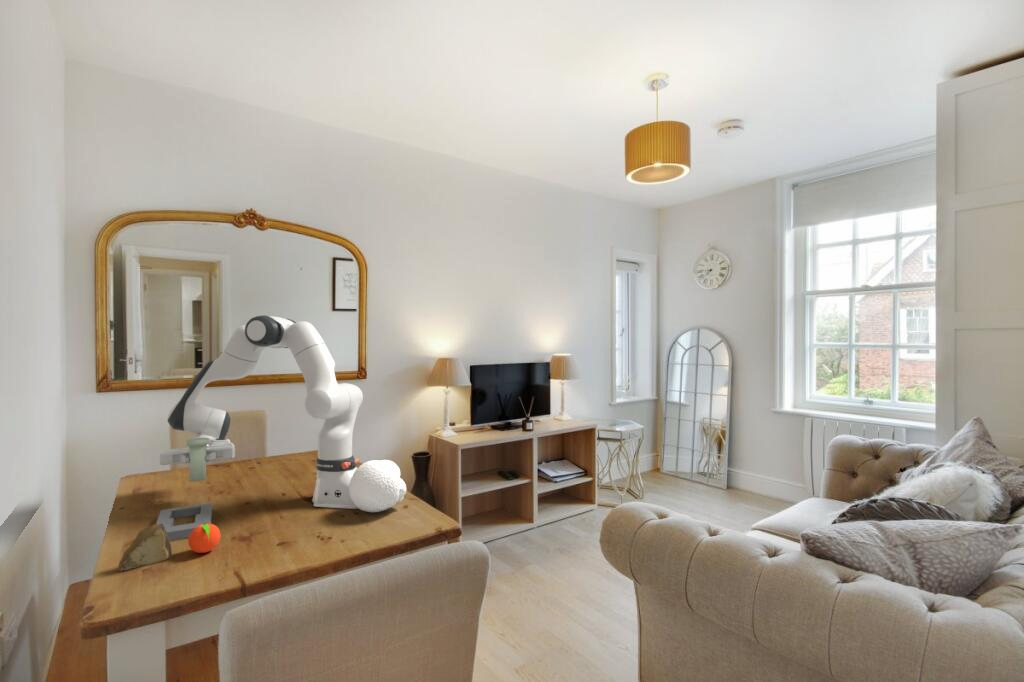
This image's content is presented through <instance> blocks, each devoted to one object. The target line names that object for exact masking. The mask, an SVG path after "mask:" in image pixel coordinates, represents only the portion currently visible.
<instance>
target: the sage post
mask: <svg viewBox="0 0 1024 682" xmlns="http://www.w3.org/2000/svg"><path fill="white" fill-rule="evenodd" d="M207 444H209V438H194V439H190V438H189V439H187V440H186V445H187V446H189V463H188V465H189V466H188V481H189V482H191V483H192V482H194V483H196V482H201V481H205V480H206V479H207V463H206V445H207Z"/></svg>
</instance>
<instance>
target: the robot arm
mask: <svg viewBox="0 0 1024 682" xmlns="http://www.w3.org/2000/svg"><path fill="white" fill-rule="evenodd" d="M266 348H271V349H289V350H290V351H291V354H292V356H293V358H294V360H295V362H296V364H297V366H298V368H299V370H300V372H301V374H302V377H303V379H304V382H305V388H306V396H305V400H304V408H305V411H306V413H307V414H308V415H309V416H310V417H312V418H314V419H320V420H324V422H323V426H322V427H321V429H320V431H319V433H318V436H317V458H316V463H315V464H316V466H315V469H316V472H317V473H316V481H315V488H314V492H313V496H312V499H311V501H312V503H313V507H318V508H331V509H349V510H350V509H353V510H357V509H359V508H358V507H357V506H356V505H355V504H354V503H353V501H352V499H351V496H350V494H349V484H350V481H351V478H352V475H353V474H354V472H355V471H356V469H357V468H358V467H357V463H359V462H360V461H359V458H355V456H354V455H353V434H354V428H355V423H356V419H357V416H358V411H359V409H360V407H361V405H362V403H363V399H364V394H363V392H362V390H361V388H360V387H358V386H357V385H355V384H352V383H349V382H342V383H338V381H337V377H336V373H335V369H336V361H335V360H334V358H333V356H332V354H331V352H330V350H329V348H328V347H327V345H326V343H325V340H324V339H323V338H322V335H320V333H319V332H318V330H317V329H316V327H315V326H314V325H313V324H312V323H311V322H309V321H304V320H302V321H301V320H300V321H294V320H293V319H289V318H284V317H280V316H273V315H262V314H261V315H256V316H254V317H252V318H250V319H249V320H248V321H247V322H246V324H243V325H240V326H238V327H237V328H236V329H235V331H234V332H233V333H232V335H231V337H230V338H229V340H228V342H227V344H226V345H225V348H224V349H223V352H222V353H221V355H220V356H218V357H217V358H216V359H215V360H209V361H208V362H206V363H205V364H204V366H203V367H202V368H201V370H200V371H199V373H197V375H196V376H195V378H193V381H192V382H191V383H190V384H189V386H188V387H187V389H186V390H185V391H184V394H183V395H182V396H181V397H180V399H179V400H178V401H177V402H176V403H175V405H173V406H172V408H171V409H170V411H169V413H168V416H167V423H168V425H169V426H170V427H171V428H172V429H173V430H174V431H175V430H176V431H180V432H181V431H183V432H189V433H192V434H193V433H194V435H193V436H191V437H190V438H189V439H194V438H209V444H207V445H206V464H207V463H211V462H214V461H220V460H225V459H226V460H227V459H234V458H235V456H236V447H235V444H234V443H233V442H231V441H230V439H229V438H226V436H227V434H228V432H229V429H230V426H231V415H230V414H229V412H228V411H227V410H223V409H219V408H216V407H210V406H207V405H202V404H199V403H197V402H196V399H198V396H199V395H200V394H201V393H202V391H203V390H204V388H205V386H207V384H210V383H211V382H212V383H213V382H215V381H234V380H239V379H243V378H246V377H248V376H249V375H250V374H252V372H253V371H254V369H255V367H256V365H257V363H258V361H259V359H260V356H261V354H262V352H263V350H264V349H266ZM159 464H160V465H161V466H167V465H175V464H176V465H179V464H189V446H187V444H186V445H185V447H183V448H172V449H166V450H164V451H162V452H161V453H160V454H159Z"/></svg>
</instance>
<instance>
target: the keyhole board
mask: <svg viewBox="0 0 1024 682" xmlns="http://www.w3.org/2000/svg"><path fill="white" fill-rule="evenodd" d="M212 515H213V503H212V502H208V503H200V504H193V505H187V506H180V507H179V506H178V507H172V508H165V509H161V510H160V512H159V515H158V518H157V520H156V522H155V524H163V526H164V527H165V530H166V532H167V535H168V538H169V540H170V542H172V541H178V540H184V539H189V536H190V534H191V532H192V531H193V530H194V529H195V528H196V527H198V526H199V525H202V524H207V523H209V524H212ZM192 516H193V517H194V516H195V518H194V522H191V523H185V524H179V525H174V522H175V521H174V519H179V518H180V519H181V518H187V517H192Z"/></svg>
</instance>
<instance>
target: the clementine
mask: <svg viewBox="0 0 1024 682" xmlns="http://www.w3.org/2000/svg"><path fill="white" fill-rule="evenodd" d="M221 536H222V535H221V531H220V528H219V527H218V526H217V525H214V524H213V523H211V524H209V523H207V524H202V525H199V526H198V527H196V528H195V529H194V530H193V531H192V532H191V534H190V536H189V538H187V539H188V540H187V541H188V547H189V548H190V550H191V551H193V552H195V553H198V554H205V553H208V552H210V551H212V550H213V549H215V548H216V547H217V545H218V544H219V542H220V540H221Z"/></svg>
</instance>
